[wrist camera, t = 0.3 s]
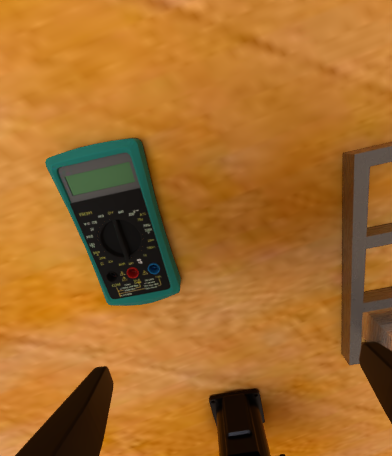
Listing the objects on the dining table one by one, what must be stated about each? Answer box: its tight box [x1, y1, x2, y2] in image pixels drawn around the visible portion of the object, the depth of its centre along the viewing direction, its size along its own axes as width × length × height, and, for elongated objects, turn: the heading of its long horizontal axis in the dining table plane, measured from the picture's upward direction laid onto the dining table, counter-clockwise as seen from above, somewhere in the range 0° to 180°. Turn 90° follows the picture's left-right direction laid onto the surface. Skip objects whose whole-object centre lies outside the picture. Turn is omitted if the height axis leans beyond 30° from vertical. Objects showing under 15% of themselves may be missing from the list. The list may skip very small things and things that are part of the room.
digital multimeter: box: [45, 138, 181, 306], centre depth 21 cm, size 7×15×3 cm, turn 12°
